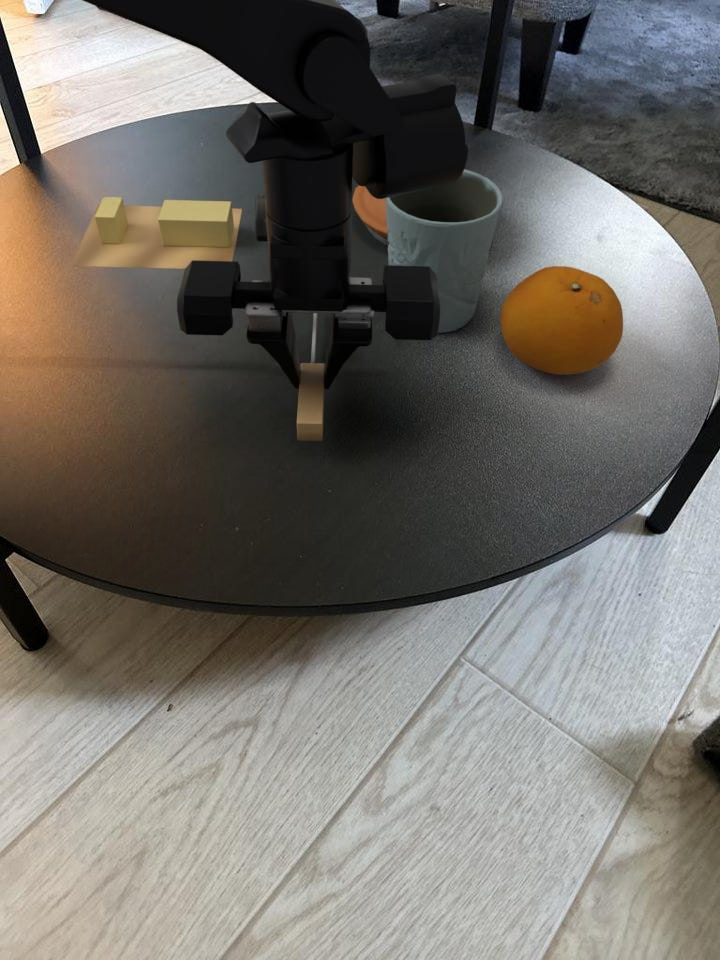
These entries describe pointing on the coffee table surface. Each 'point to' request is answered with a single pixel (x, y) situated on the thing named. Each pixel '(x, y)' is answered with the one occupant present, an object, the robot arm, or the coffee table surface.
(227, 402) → the coffee table surface
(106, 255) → the cutting board
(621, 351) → the coffee table surface
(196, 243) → the butter stick
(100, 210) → the butter pat
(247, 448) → the coffee table surface
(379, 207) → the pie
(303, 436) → the chisel
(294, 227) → the robot arm
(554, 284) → the fruit
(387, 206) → the green ceramic cup
